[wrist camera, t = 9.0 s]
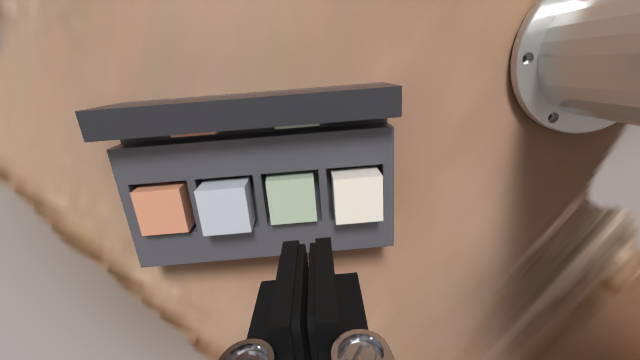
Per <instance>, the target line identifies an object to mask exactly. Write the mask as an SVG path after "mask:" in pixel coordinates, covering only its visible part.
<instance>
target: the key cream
mask: <svg viewBox="0 0 640 360" xmlns="http://www.w3.org/2000/svg"><path fill="white" fill-rule="evenodd" d="M331 181H332V197H333V212H334V217H335V222H336V225H341V224H353V223H365V222H376V221H383V175H382V174H381V173H380V171H379V170H378V168H377V167H363V168H351V169H339V170H331Z"/></svg>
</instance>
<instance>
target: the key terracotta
mask: <svg viewBox="0 0 640 360" xmlns="http://www.w3.org/2000/svg"><path fill="white" fill-rule="evenodd" d="M130 195H131V199H132V202H133V206H134V209H135V213H136V216H137V220H138V223H139V227H140V231H141V234H142V236H150V235H162V234H173V233H185V232H189V231H190V230H191V228H192V227H193V225H194V224H195V223H196V222H195V217H194V213H193V208H192V204H191V199H190V194H189V190H188V185H187V181H186V180H183V181H171V182H159V183H147V184H142V185H140V186H139V187H137V188H136V189H135V190H133V191H132V192H130Z"/></svg>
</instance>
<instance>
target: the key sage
mask: <svg viewBox="0 0 640 360" xmlns="http://www.w3.org/2000/svg"><path fill="white" fill-rule="evenodd" d="M265 183H266V191H267V198H268V205H269V213H270V220H271V225H279V224H291V223H302V222H314V221H317V212H316V200H315V188H314V176H313V170H305V171H293V172H280V173H268V175H267V178H266V181H265Z"/></svg>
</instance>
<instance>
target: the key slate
mask: <svg viewBox="0 0 640 360" xmlns="http://www.w3.org/2000/svg"><path fill="white" fill-rule="evenodd" d="M194 194H195V199H196V204H197V208H198V213H199V218H200V223H201V227H202V232H203V236H213V235H224V234H236V233H248V232H252V229H253V226H254V223H255V220H256V215H255V209H254V202H253V196H252V189H251V182H250V177H242V178H230V179H218V180H206V181H203V182H202V183H201V184H200V185H199V187H198V188H197V189H196V190H195V191H194Z"/></svg>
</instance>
